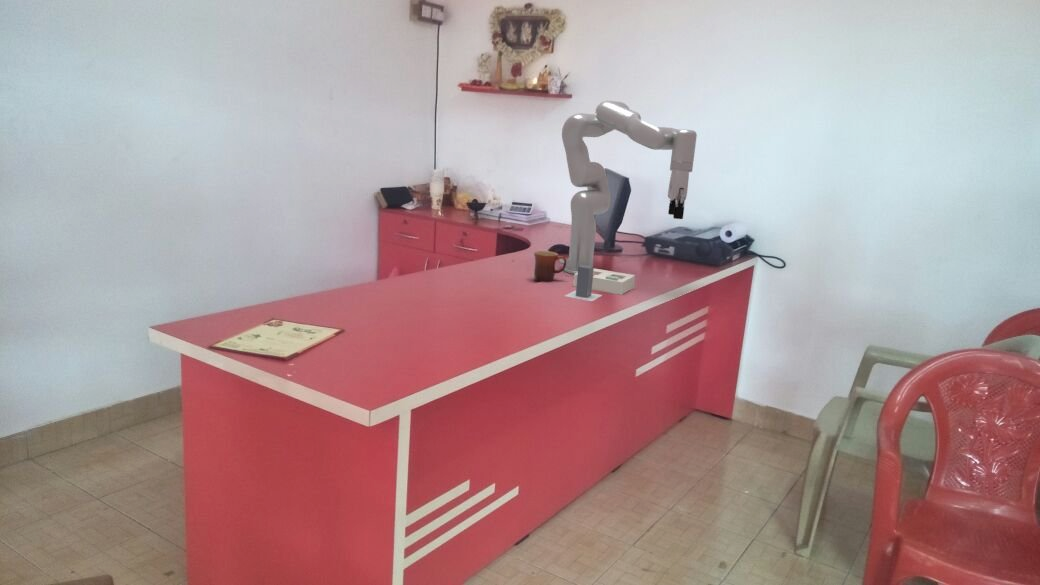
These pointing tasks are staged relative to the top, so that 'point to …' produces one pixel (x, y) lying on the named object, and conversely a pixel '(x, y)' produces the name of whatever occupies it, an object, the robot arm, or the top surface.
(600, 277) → the socket block
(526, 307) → the top surface
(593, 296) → the mat
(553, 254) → the mug
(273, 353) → the top surface
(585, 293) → the dark grey rectangular prism
